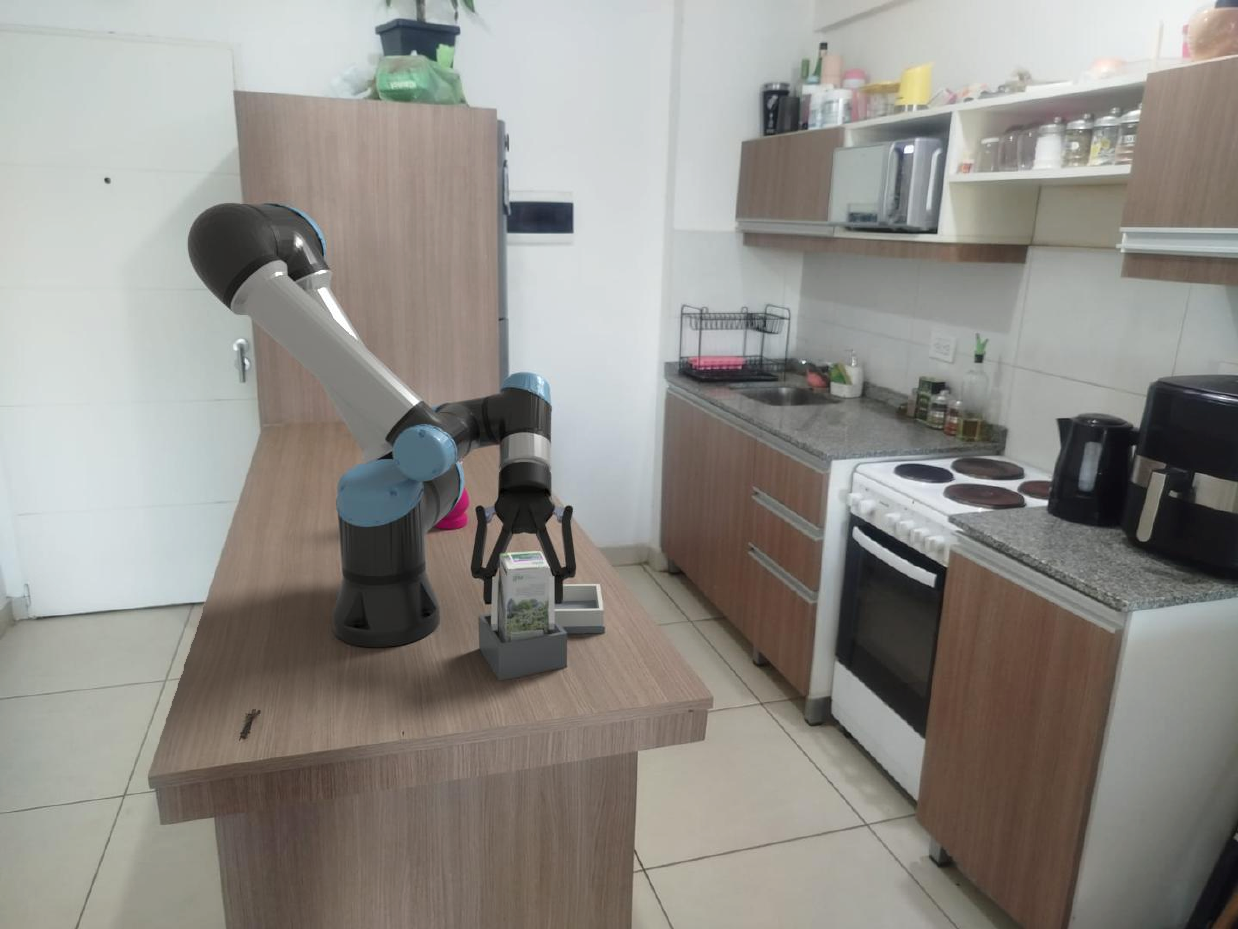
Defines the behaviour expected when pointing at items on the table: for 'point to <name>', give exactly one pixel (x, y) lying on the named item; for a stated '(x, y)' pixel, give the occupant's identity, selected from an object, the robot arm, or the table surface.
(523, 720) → the table surface
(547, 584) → the syrup box
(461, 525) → the pepper mill
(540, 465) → the robot arm
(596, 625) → the low tray
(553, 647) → the deep sleeve
